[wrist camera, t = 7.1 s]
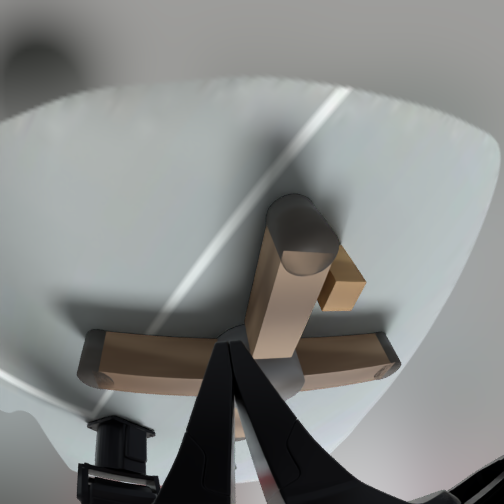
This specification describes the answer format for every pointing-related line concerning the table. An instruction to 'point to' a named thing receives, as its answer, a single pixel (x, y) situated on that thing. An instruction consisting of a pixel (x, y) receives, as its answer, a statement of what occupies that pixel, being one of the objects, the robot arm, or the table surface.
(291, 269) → the folding leg
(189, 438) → the robot arm
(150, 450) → the table surface
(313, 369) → the stool base
